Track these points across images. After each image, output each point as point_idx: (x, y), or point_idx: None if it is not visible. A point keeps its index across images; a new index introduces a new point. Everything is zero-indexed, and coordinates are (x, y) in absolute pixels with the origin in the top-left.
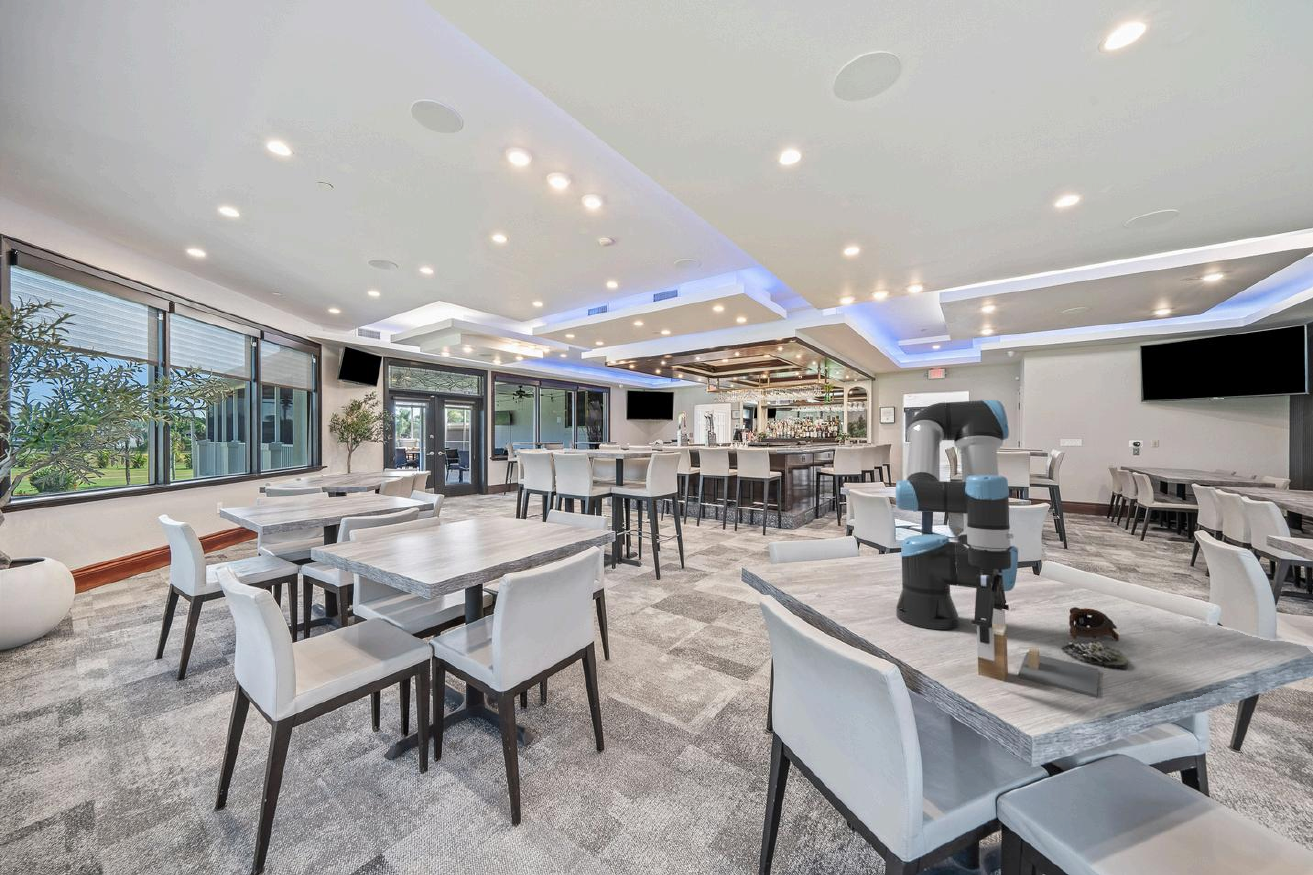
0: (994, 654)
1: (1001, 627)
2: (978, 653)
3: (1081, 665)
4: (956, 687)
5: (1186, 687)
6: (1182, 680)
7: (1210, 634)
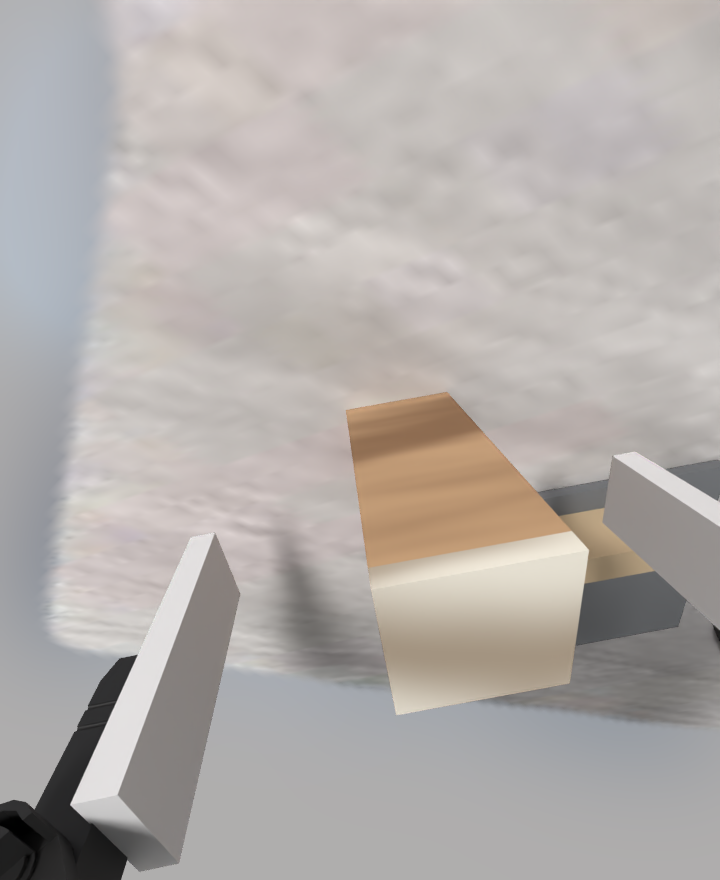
0: (233, 619)
1: (517, 677)
2: (186, 555)
3: (679, 598)
4: (116, 402)
5: (670, 719)
6: (714, 709)
7: None
